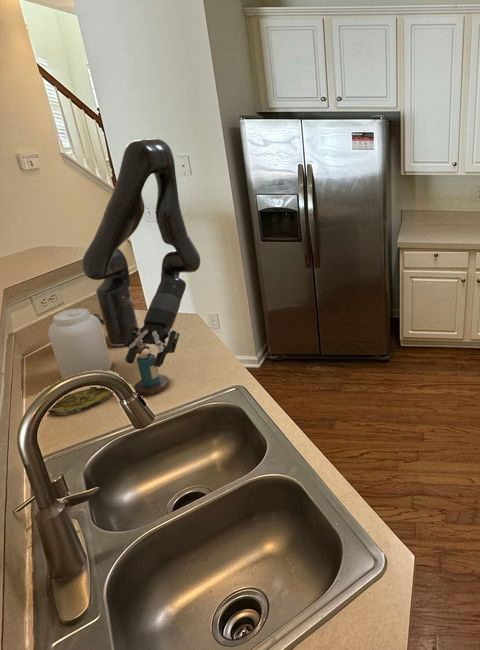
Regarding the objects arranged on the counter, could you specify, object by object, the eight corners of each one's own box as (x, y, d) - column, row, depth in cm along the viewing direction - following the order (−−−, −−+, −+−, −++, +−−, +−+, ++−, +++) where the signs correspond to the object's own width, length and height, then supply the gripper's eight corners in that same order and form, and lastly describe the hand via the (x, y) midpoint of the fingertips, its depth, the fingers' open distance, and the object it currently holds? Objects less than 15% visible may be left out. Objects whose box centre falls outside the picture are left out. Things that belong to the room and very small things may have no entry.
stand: (131, 387, 124) (130, 382, 124) (162, 375, 130) (162, 371, 130) (141, 400, 119) (140, 395, 118) (173, 387, 125) (172, 383, 124)
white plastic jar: (106, 357, 139) (91, 300, 132) (117, 372, 131) (101, 313, 124) (59, 371, 131) (40, 312, 124) (66, 389, 123) (46, 327, 116)
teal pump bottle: (139, 385, 123) (130, 350, 119) (152, 376, 127) (144, 343, 123) (150, 388, 121) (142, 354, 117) (164, 380, 125) (156, 346, 121)
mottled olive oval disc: (49, 425, 110) (117, 401, 119) (44, 412, 108) (113, 388, 117) (45, 405, 116) (110, 383, 125) (40, 391, 114) (106, 371, 123)
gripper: (133, 303, 124) (110, 358, 118) (178, 308, 122) (157, 364, 116) (149, 312, 131) (129, 364, 125) (192, 317, 129) (173, 370, 123)
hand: (142, 364), depth 120 cm, fingers open, 8 cm apart
